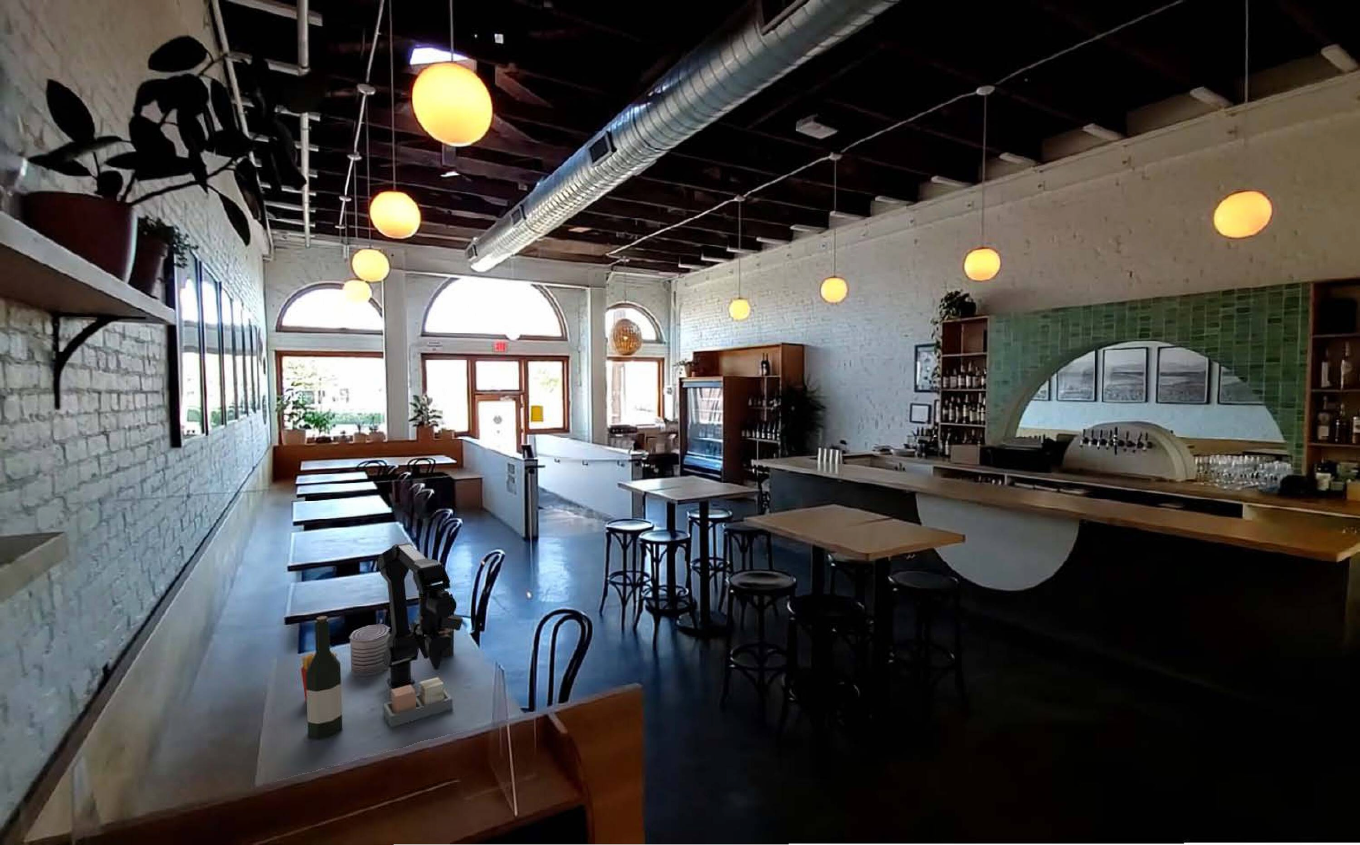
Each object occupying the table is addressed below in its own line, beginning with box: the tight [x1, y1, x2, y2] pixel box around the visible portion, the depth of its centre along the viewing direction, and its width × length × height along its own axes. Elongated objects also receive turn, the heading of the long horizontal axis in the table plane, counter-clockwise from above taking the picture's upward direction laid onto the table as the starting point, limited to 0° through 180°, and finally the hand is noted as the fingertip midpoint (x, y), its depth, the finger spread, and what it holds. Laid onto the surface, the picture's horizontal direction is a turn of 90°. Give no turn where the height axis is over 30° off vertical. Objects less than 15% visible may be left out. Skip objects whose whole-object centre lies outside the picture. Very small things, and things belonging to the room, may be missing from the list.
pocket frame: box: [382, 688, 454, 728], centre depth 178 cm, size 8×16×3 cm, turn 127°
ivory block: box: [418, 676, 445, 706], centre depth 180 cm, size 5×5×6 cm
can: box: [348, 623, 391, 677], centre depth 205 cm, size 11×11×12 cm
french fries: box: [300, 652, 338, 702], centre depth 185 cm, size 9×4×13 cm, turn 99°
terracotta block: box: [390, 684, 417, 714], centre depth 175 cm, size 5×5×6 cm
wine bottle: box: [306, 615, 343, 740], centre depth 167 cm, size 8×8×30 cm
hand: (431, 663), depth 179 cm, fingers open, 9 cm apart
